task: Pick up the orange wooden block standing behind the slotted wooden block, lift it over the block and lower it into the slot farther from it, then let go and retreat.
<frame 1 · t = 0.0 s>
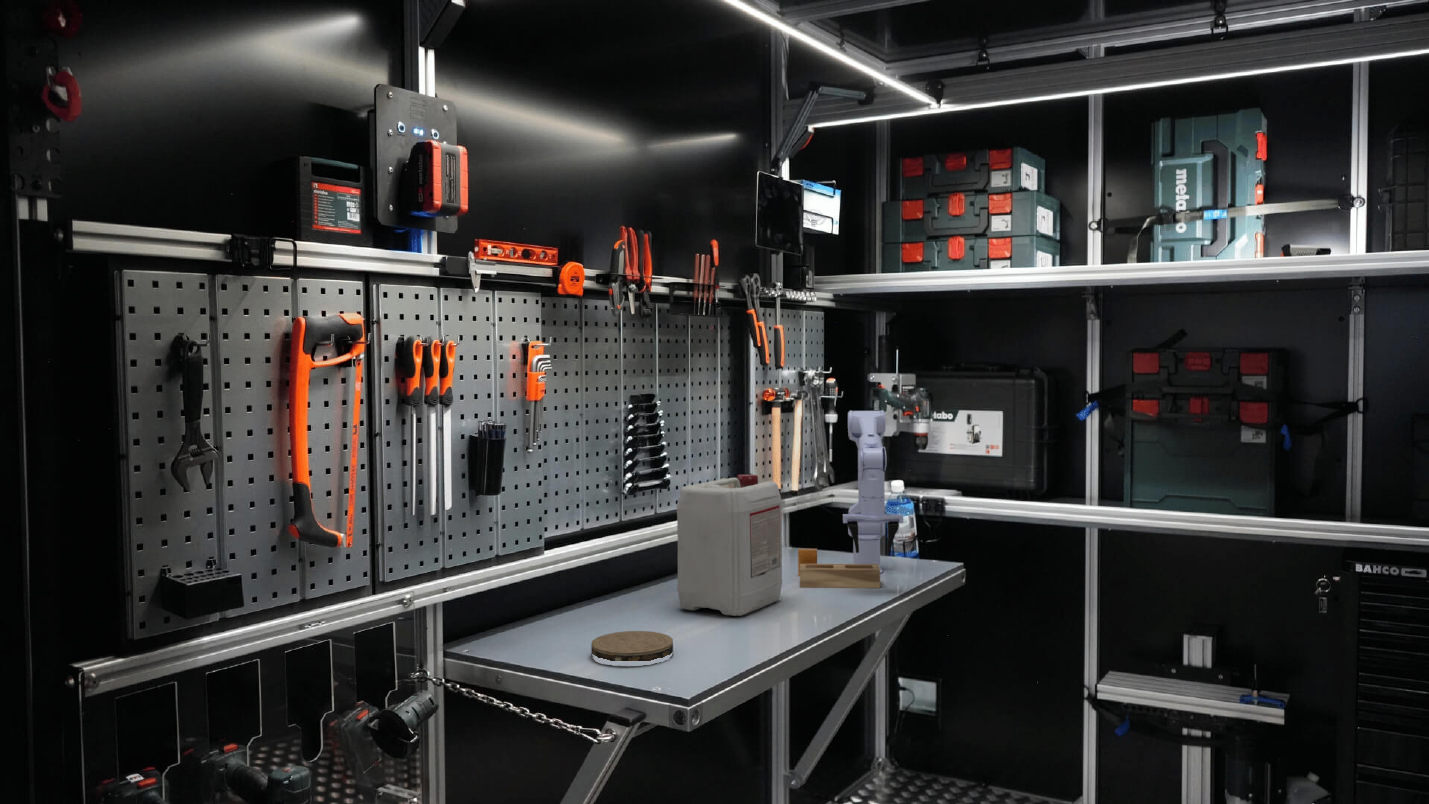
hand: (873, 552, 248), 10 cm above the table, fingers open, 7 cm apart
brown round disc: (632, 657, 197), on the table
slotted wooden block: (839, 584, 259), on the table
jerry can: (730, 606, 237), on the table
orange wooden block: (807, 575, 270), on the table
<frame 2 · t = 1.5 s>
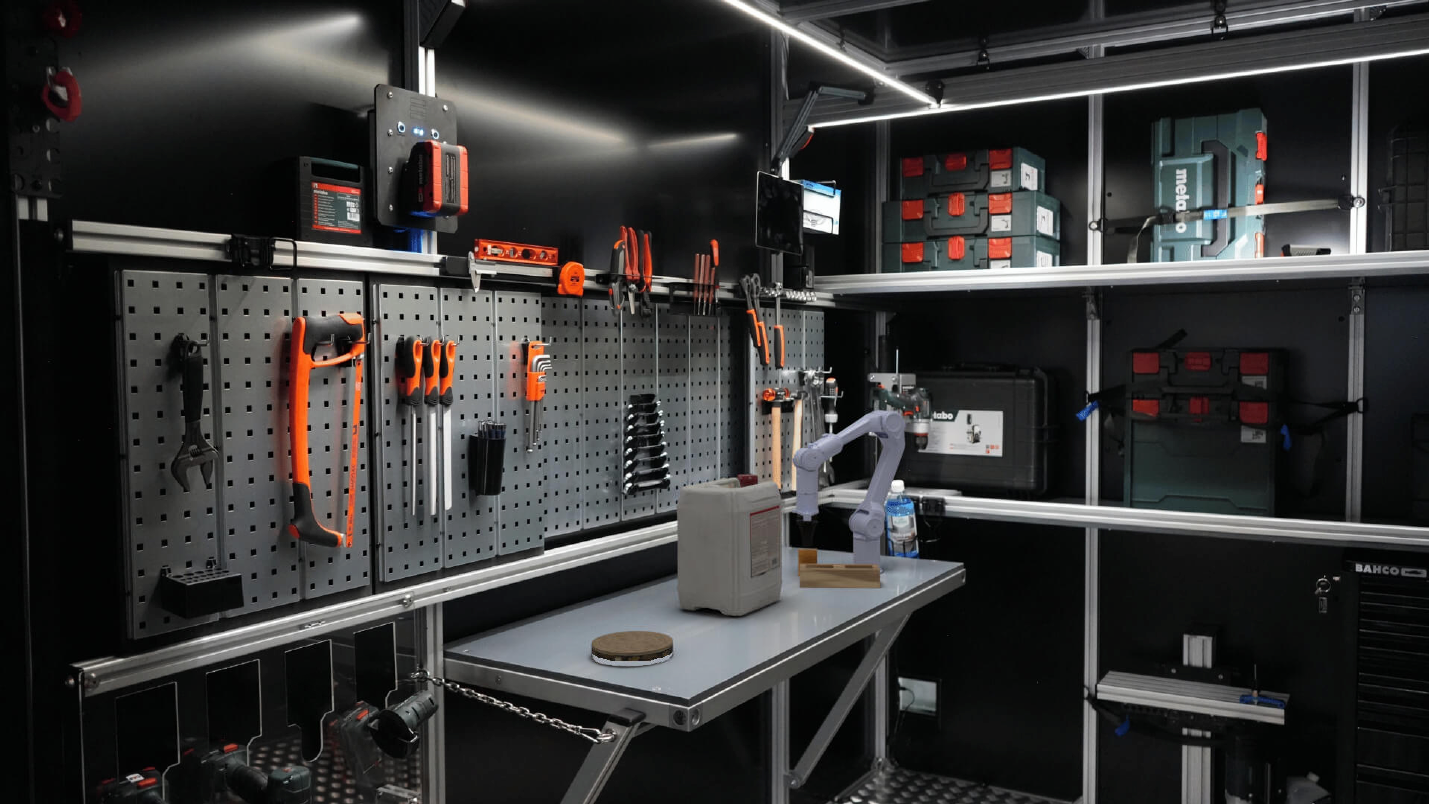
hand: (807, 544, 270), 8 cm above the table, fingers open, 7 cm apart
nothing on the table moved.
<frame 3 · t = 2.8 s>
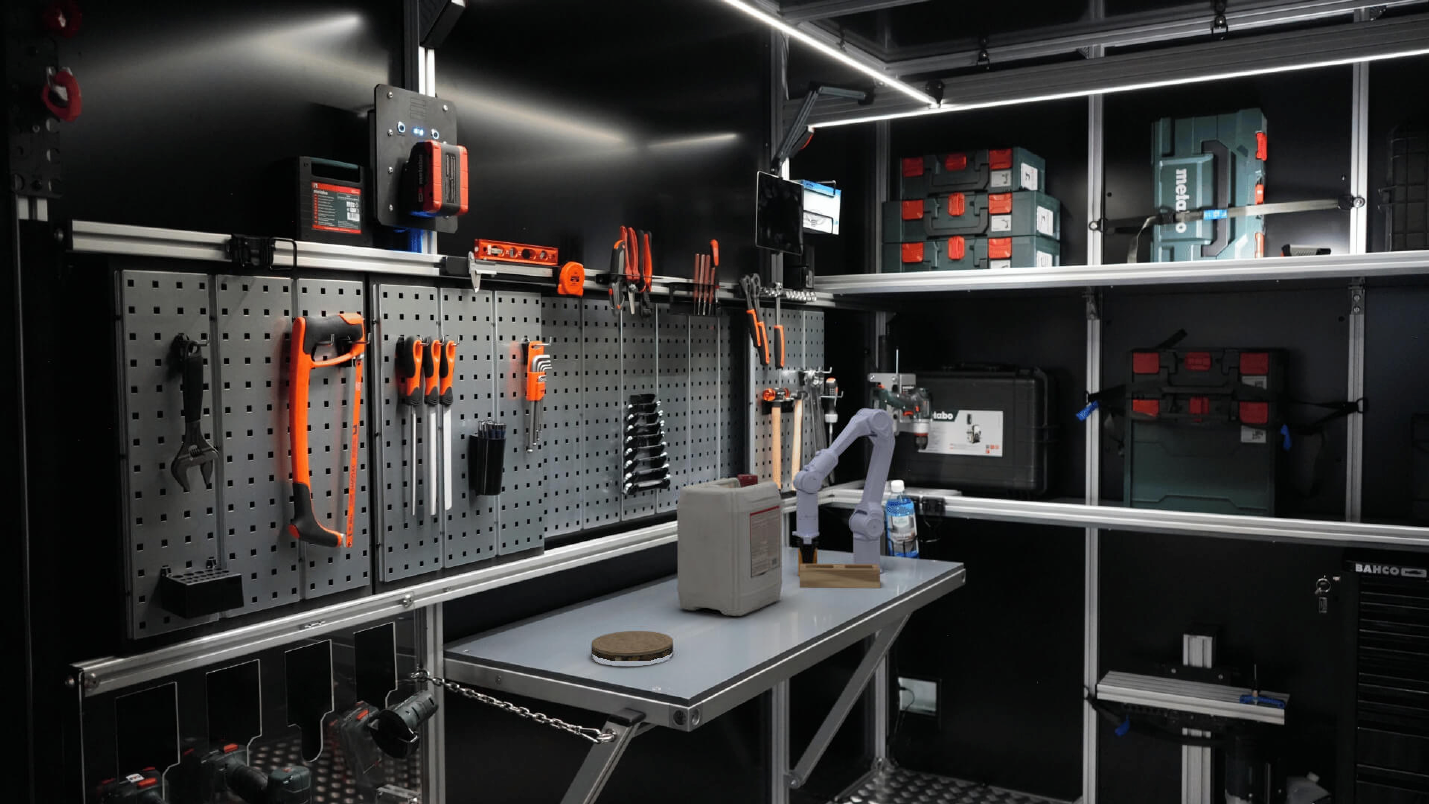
hand: (807, 566, 270), 2 cm above the table, fingers closed on orange wooden block, 2 cm apart
orange wooden block: (807, 575, 270), on the table, touching gripper
everything else where it was.
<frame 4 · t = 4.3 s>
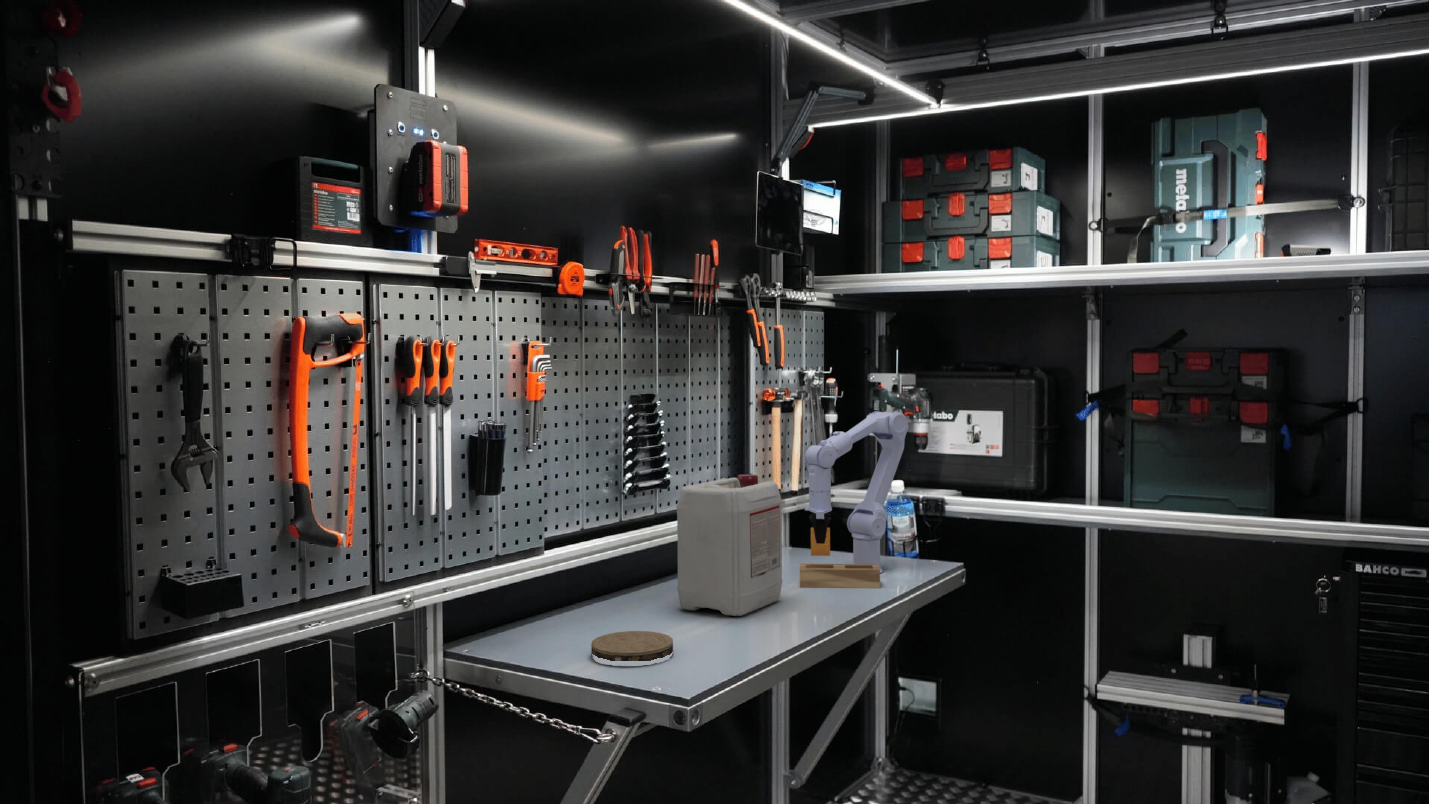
hand: (820, 542, 267), 9 cm above the table, fingers closed on orange wooden block, 2 cm apart
orange wooden block: (820, 554, 267), point 6 cm above the table, touching gripper
everything else where it was.
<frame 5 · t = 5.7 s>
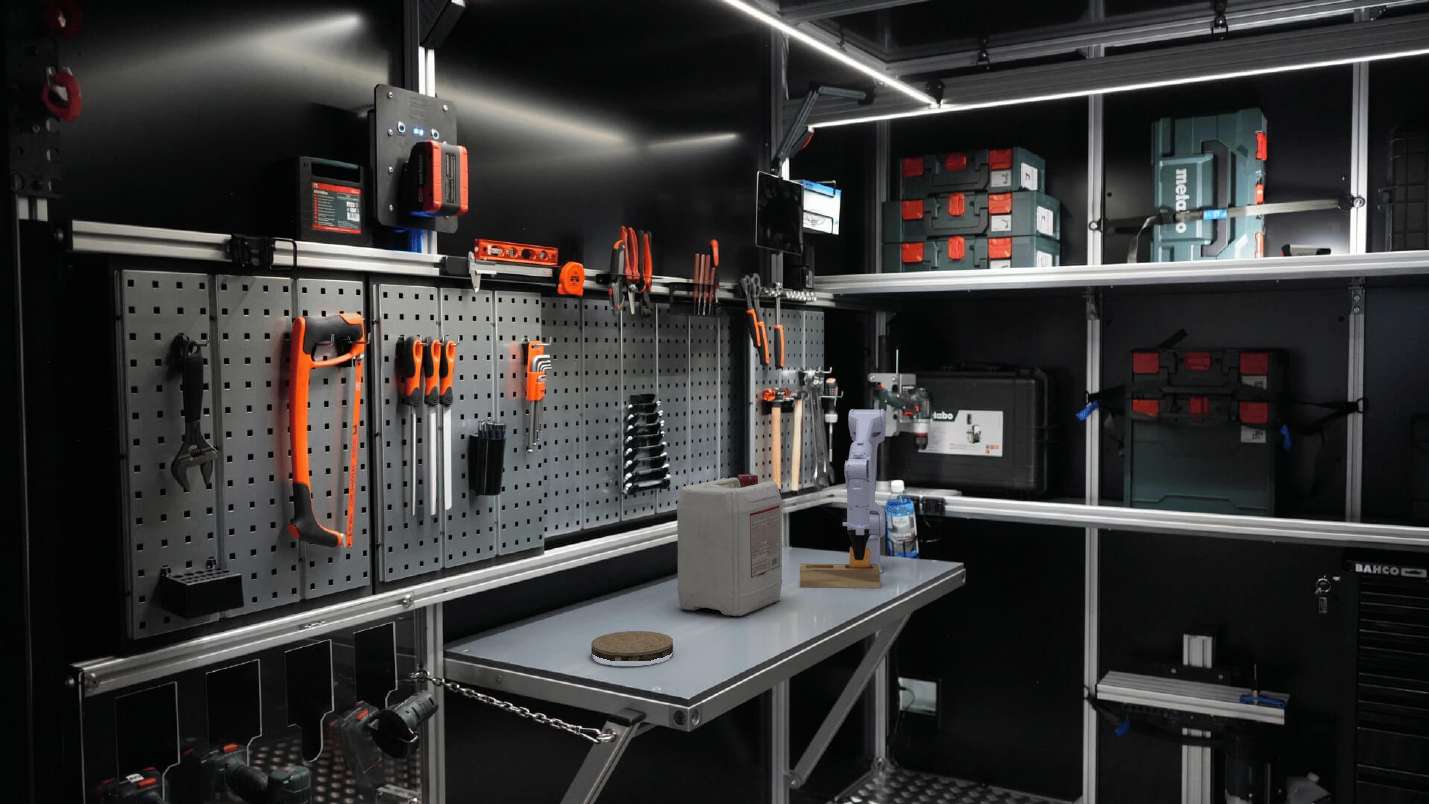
hand: (858, 558, 258), 7 cm above the table, fingers closed on orange wooden block, 2 cm apart
orange wooden block: (858, 575, 258), point 2 cm above the table, touching gripper
everything else where it was.
when the fingers open (5 cm above the table, at t = 6.2 s): orange wooden block stays where it is, resting on slotted wooden block.
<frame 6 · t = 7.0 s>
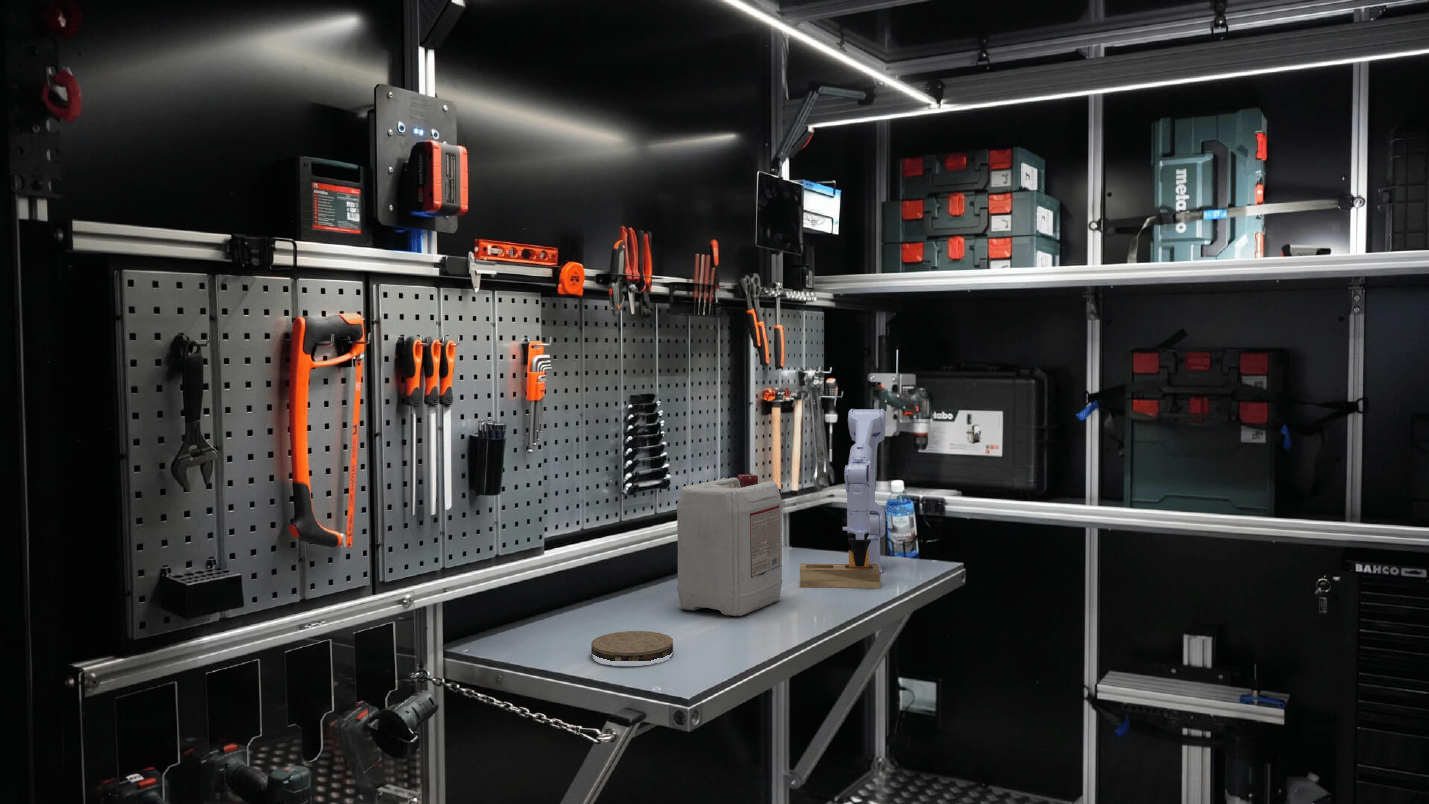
hand: (858, 563, 258), 5 cm above the table, fingers open, 7 cm apart
orange wooden block: (858, 578, 258), point 1 cm above the table, touching slotted wooden block
everything else where it was.
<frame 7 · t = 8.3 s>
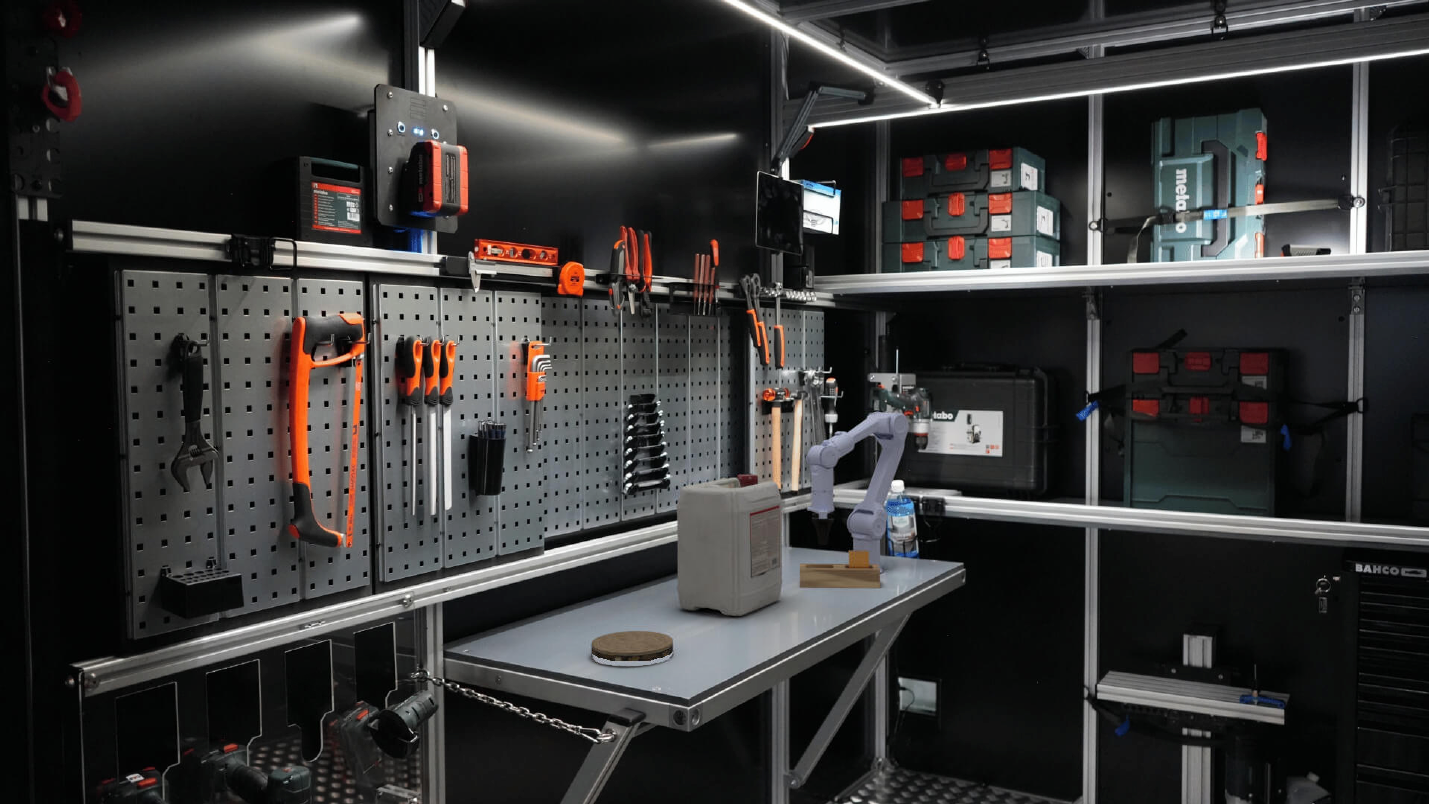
hand: (822, 542, 267), 9 cm above the table, fingers open, 7 cm apart
nothing on the table moved.
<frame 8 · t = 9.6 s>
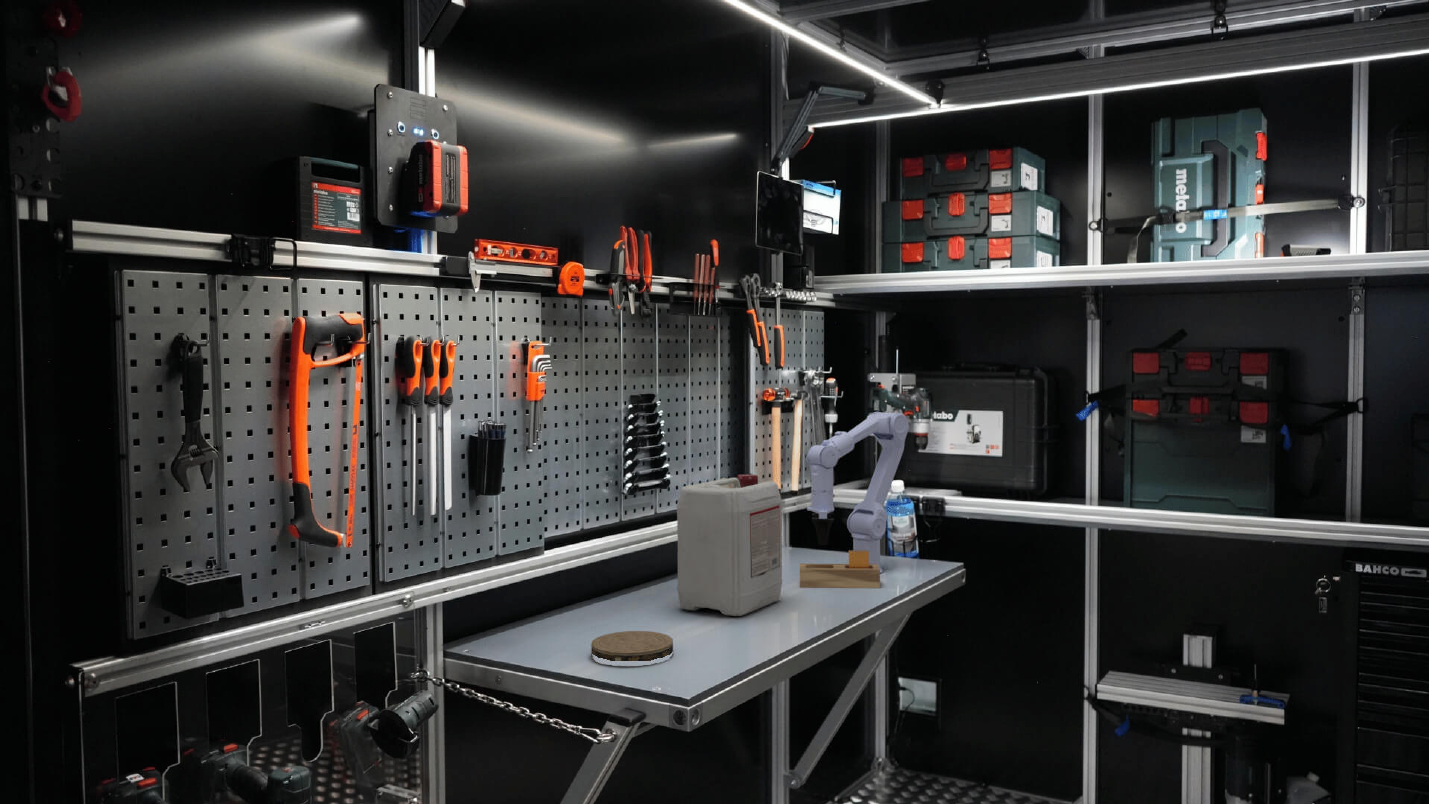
hand: (822, 542, 267), 9 cm above the table, fingers open, 7 cm apart
nothing on the table moved.
at the end: orange wooden block 0.0 cm from the target spot on the slotted wooden block, point 1.5 cm above the slotted wooden block's base; orange wooden block tilted 0°; the gripper is holding nothing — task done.
